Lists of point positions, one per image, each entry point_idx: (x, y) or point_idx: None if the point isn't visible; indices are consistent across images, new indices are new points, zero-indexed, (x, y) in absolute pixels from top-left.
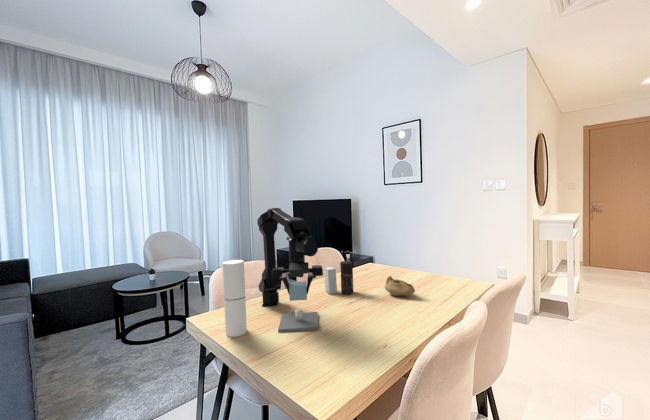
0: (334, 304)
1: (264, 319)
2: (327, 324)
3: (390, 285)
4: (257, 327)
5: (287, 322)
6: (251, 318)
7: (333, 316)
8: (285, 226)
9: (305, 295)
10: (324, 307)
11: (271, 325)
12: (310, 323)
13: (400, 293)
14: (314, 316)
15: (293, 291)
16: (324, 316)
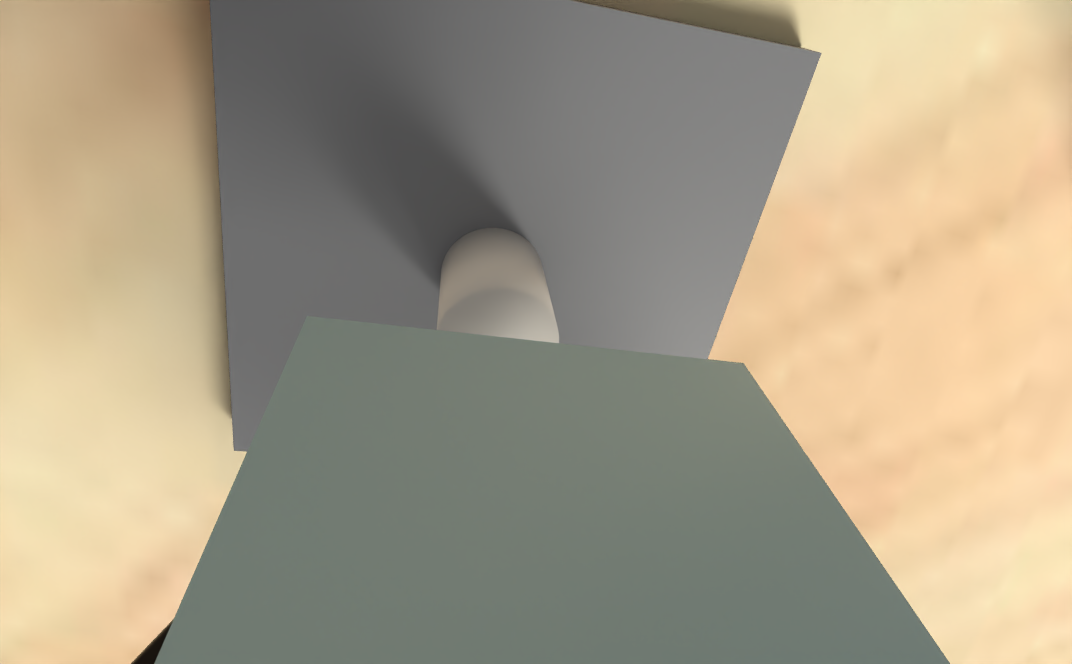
0: (42, 621)
1: (846, 430)
2: (78, 97)
3: None
4: (977, 261)
5: (653, 240)
6: (952, 475)
7: (12, 332)
8: None
9: (313, 392)
10: (163, 574)
11: (822, 272)
12: (337, 116)
13: None
14: (274, 331)
15: (728, 528)
16: (147, 359)
